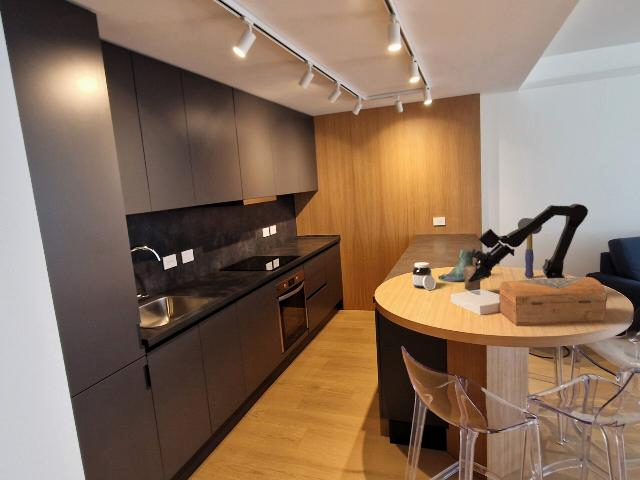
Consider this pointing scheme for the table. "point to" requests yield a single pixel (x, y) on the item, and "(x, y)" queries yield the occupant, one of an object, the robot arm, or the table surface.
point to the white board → (477, 301)
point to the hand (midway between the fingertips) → (469, 279)
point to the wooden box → (553, 301)
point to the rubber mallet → (529, 248)
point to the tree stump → (459, 268)
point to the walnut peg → (468, 273)
